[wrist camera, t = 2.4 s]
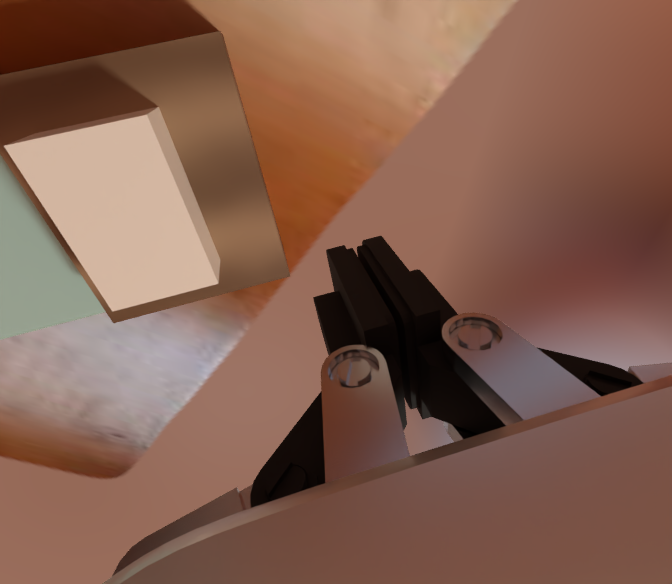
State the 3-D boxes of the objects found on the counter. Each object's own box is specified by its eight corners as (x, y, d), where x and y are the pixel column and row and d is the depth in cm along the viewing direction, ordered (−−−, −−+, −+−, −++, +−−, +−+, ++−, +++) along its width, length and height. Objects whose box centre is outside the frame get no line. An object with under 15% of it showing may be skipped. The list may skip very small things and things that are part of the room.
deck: (0, 79, 20) (-47, 84, 16) (222, 34, 21) (220, 30, 17) (128, 291, 28) (113, 323, 24) (284, 250, 29) (290, 276, 25)
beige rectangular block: (35, 133, 18) (3, 145, 16) (158, 106, 19) (146, 114, 16) (125, 284, 23) (112, 311, 21) (220, 259, 24) (218, 283, 21)
